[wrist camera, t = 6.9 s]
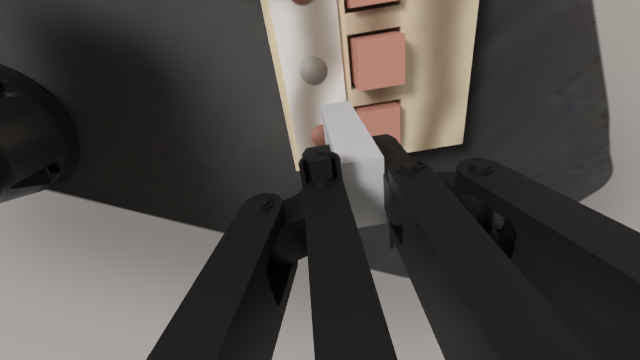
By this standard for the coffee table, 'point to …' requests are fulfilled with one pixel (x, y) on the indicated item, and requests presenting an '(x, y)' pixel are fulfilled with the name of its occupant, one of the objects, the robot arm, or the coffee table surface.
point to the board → (336, 69)
